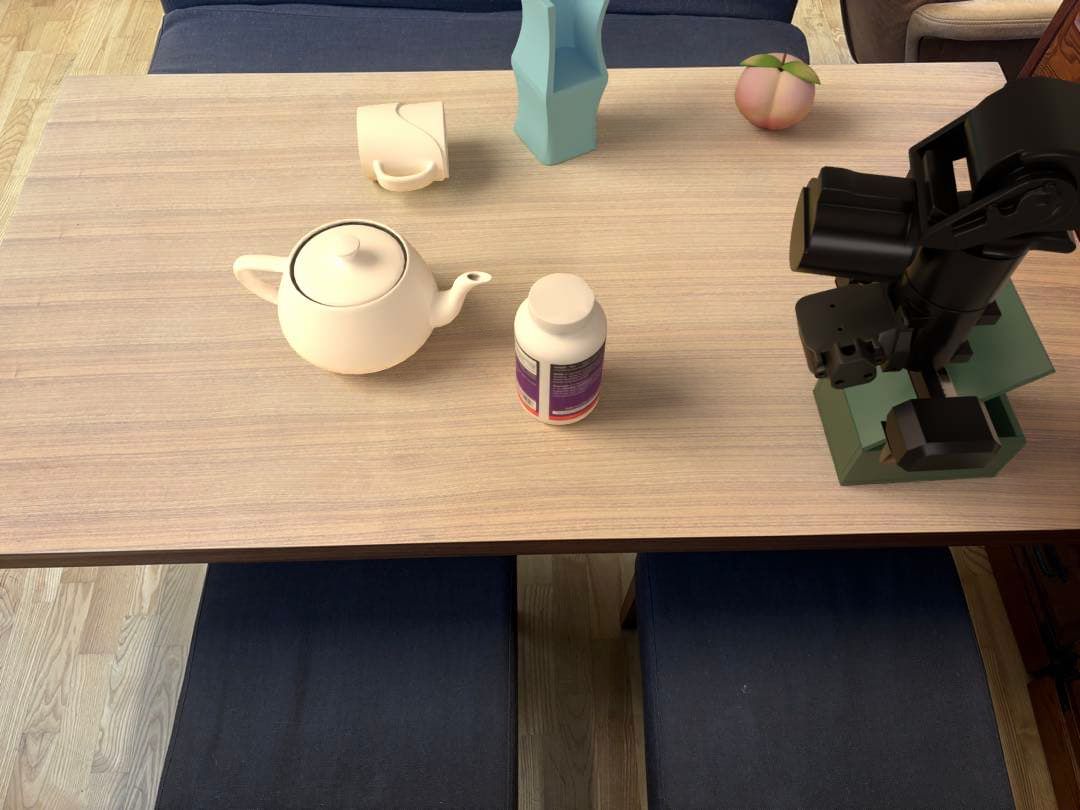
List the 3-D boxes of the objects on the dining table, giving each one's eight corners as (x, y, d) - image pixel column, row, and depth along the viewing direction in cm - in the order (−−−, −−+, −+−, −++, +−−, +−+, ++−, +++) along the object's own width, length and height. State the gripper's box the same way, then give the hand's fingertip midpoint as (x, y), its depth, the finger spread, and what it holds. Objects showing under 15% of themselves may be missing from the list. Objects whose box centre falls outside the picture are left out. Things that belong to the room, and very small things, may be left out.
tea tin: (956, 383, 83) (985, 345, 78) (994, 477, 78) (1027, 442, 72) (812, 390, 82) (831, 353, 77) (839, 485, 77) (862, 451, 72)
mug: (368, 143, 101) (357, 86, 95) (447, 139, 102) (441, 82, 95) (367, 215, 95) (354, 159, 88) (451, 211, 95) (445, 154, 89)
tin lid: (1005, 267, 69) (986, 241, 66) (1056, 372, 63) (1037, 348, 60) (834, 351, 77) (810, 331, 74) (865, 450, 72) (841, 433, 69)
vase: (544, 168, 99) (547, 8, 82) (512, 129, 103) (509, -32, 86) (602, 146, 101) (616, -14, 85) (568, 109, 105) (576, -52, 88)
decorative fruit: (806, 110, 105) (830, 37, 97) (800, 153, 101) (824, 81, 93) (731, 97, 107) (748, 24, 98) (721, 139, 102) (738, 66, 94)
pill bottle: (609, 373, 83) (623, 275, 71) (585, 439, 79) (595, 347, 67) (532, 351, 85) (532, 251, 73) (504, 415, 81) (499, 320, 68)
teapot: (229, 376, 83) (187, 294, 72) (277, 258, 91) (245, 170, 81) (482, 406, 81) (475, 326, 71) (507, 283, 90) (504, 196, 79)
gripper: (792, 179, 58) (745, 321, 71) (865, 407, 48) (794, 524, 61) (952, 173, 59) (875, 316, 72) (1057, 398, 48) (945, 516, 62)
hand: (869, 410), depth 67 cm, fingers open, 9 cm apart
